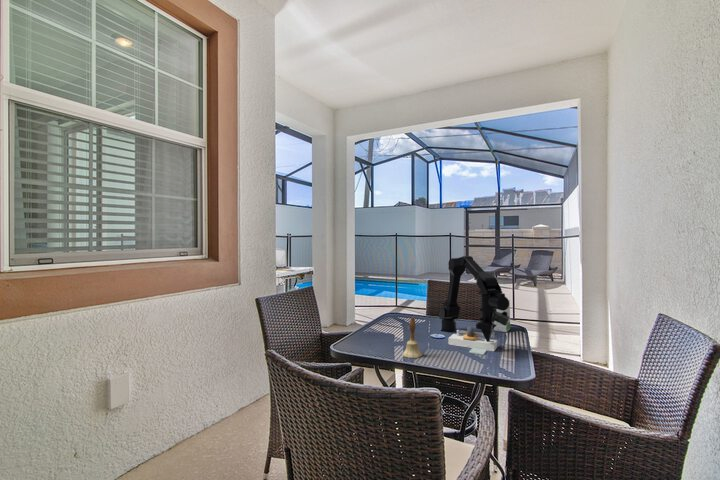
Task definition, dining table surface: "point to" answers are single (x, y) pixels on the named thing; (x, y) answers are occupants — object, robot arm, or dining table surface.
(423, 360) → the dining table surface
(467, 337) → the plug
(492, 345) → the power strip
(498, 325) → the skincare box
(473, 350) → the mat
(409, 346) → the hand bell
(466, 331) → the clip
